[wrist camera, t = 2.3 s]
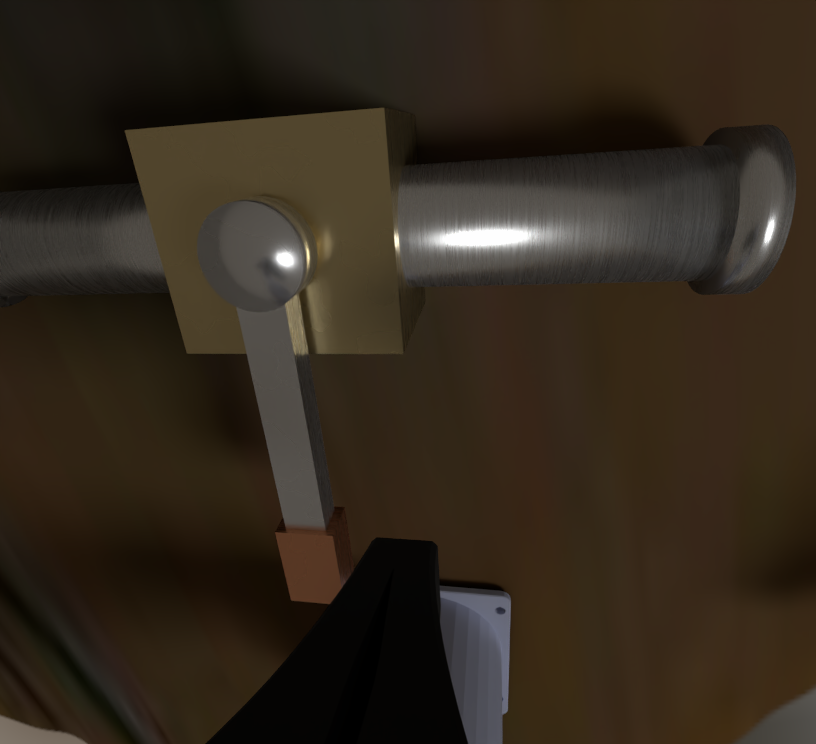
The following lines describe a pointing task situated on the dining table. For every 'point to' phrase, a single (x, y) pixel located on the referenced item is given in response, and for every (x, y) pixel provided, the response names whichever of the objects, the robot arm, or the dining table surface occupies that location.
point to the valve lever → (282, 378)
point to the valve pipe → (402, 221)
